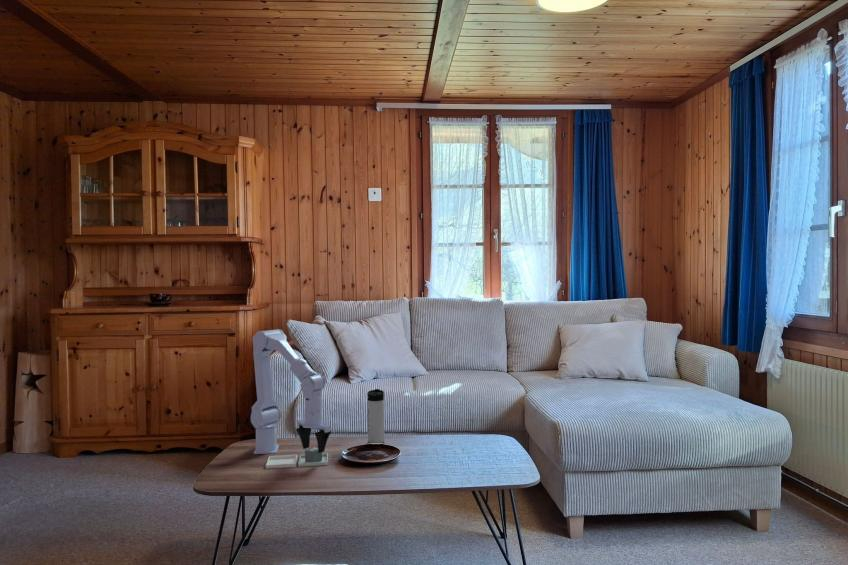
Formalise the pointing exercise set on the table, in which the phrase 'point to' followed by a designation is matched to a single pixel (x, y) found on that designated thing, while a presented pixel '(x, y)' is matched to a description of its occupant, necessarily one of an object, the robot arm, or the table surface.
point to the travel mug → (375, 416)
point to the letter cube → (313, 455)
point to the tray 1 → (281, 461)
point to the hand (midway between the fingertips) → (313, 450)
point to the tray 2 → (323, 462)
